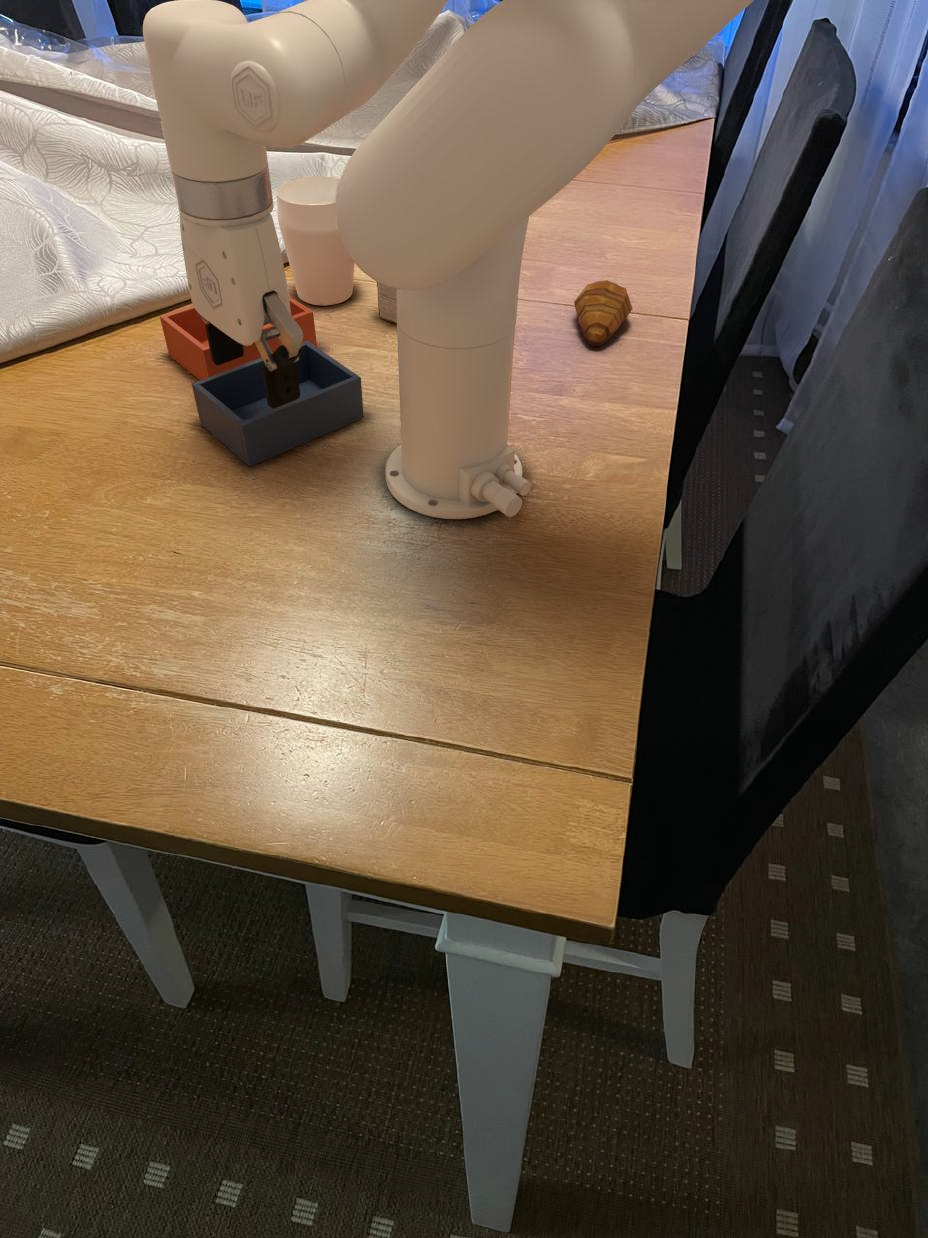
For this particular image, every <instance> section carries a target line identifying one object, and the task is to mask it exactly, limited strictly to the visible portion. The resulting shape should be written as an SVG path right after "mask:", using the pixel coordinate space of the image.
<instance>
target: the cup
mask: <svg viewBox="0 0 928 1238" xmlns="http://www.w3.org/2000/svg"><path fill="white" fill-rule="evenodd" d="M339 181H340V178H338V177H333V176H323V175H310V176H309V175H308V176H301V177H297V178H293V179H289V180H287V181H284V182H282V183H281V184H279V185H278V186H277V188H276V190H275V194H276V197H275V198H276V210H277V211H276V212H277V222H278V226H279V230H280V235H281V237H282V241H283V245H284V249H285V253H286V256H287V260H288V264H289V268H290V272H291V275H292V279H293V282H294V286H295V290H296V293H297V296H298V298H299V299H300V300H301V301H303V302H305V303H307V304H310V305H314V306H334V305H338V304H341V303H343V302H345V301H347V300H349V299H350V297H351V296H353V292H354V291H353V290H354V277H355V265H356V264H355V263H354V261H353V260H352V259H351V257H350V256H349V254H348V252H347V251H346V248H345V246H344V244H343V242H342V239H341V236H340V233H339V229H338V224H337V216H336V197H337V190H338V186H339Z"/></svg>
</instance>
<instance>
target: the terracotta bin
mask: <svg viewBox="0 0 928 1238" xmlns="http://www.w3.org/2000/svg"><path fill="white" fill-rule="evenodd" d="M289 301H290V310H291V316H292V317H293V318H294V320H295V321H296V322H297V324H298V325H299V327H300V328H301V330H302V332H303V340H302V343H303V342H305V341H309V342H310V343H311V344H313V345H314V346H316V347H317V348H318V343H317V334H316V326H315V325H316V323H315V315H314V311H313V310H311V309H310V308H309V307H307V306H305V305H304V304H303V303H301V302H299V301H298V300H297V299H294V298H293V297H292V296H290V295H289ZM159 320H160V324H161V328H162V332H163V336H164V340H165V345H166V348H167V354H168V356H169V357H170V358H172V359H173V360H174V361H175V362H177V363H178V364H179V365H181V367H183V368H184V369H185V370H186V371H188V372H189V373H190V374H191V375H193V376H194V377H195V378H197V380H198V381H200V380H203V379H206V378H208V377H211V376H214V375H217V374H219V373H222V372H225V371H227V370H230V369H233V368H235V367H238V366H241V365H243V364H246V363H249V362H251V361H254V360H257V359H260V358H262V356H261V354H260V352H259V350H258V348H257V346H256V344H255V342H254V343H253V344H252V345H250V346H245V345H243V350H244V355H243V356H242V357H240V358H237V359H234V360H232V361H229V362H226V363H223V364H221V365H216V364H215V363H213V362H212V358H211V353H210V348H209V346H206V347H205V346H204V345H203V343H204V342H205V341H207V340H208V338H207V333H206V328H205V325H207V324H209V323H205V322H204V321H203V319H202V317H201V315H200V314H199V313H198V312H197V311H196V309H195V308H194V306H193V305H191V306H188V307H184V308H181V309H178V310H175V311H172V312H169V313H165V314H162V315H160V316H159ZM273 328H275V327H274V326H272V325H271V324H268V325H265V326H263V330H262V332H264V331H267V330H270V329H273ZM267 343H268V345H269V348H270V350H271V352H272V354H273V353H274V352H275V350H276V349H277V348H278V347H279V346H281V343H280V341H279V339H278V337H275V338H272V339H270V340H267Z"/></svg>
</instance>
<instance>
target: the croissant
mask: <svg viewBox="0 0 928 1238" xmlns="http://www.w3.org/2000/svg"><path fill="white" fill-rule="evenodd" d="M573 304H574V309H575V312H576V314H577V316H578V319H577V321H578V322H577V323H578V324H579V327H580V329H581V332H582V334H583V337H584V339H585V341H586V342H587V343H588V345H590V346H593V347H598V346H599V347H601V346H602V345H603V344H605V343H607V342H608V341H609V339H611V337H613V335H614V334H615V333H616V332H617V331H618V330H619V328H620V327H621V325H622V323H623V322H624V321H625V320H626V319H627V318H628V317H629V315H630V314H631V312H632V310H633V306H632V302H631V300H630V297H629V294H628V290H627V288H626V287H624V286H621V285H619V284H617V283H616V282H613V281H610V280H608V279H606V280H597V281H595V282H592V283H587V284H586V286H585V287H584V288H583V290H582V291H581V292H580V294H579V295H578V296H577V297H576V299H575V300H573Z"/></svg>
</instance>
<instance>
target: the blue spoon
mask: <svg viewBox="0 0 928 1238" xmlns="http://www.w3.org/2000/svg"><path fill="white" fill-rule="evenodd" d="M299 388H300V397H299V398H298V399H300V398H302V397H305V396H307V395H310V394H312V393H315V392H317V391H319V390H317V389H315V388H312V387H299ZM294 401H295V400H294ZM289 403H290V402H289ZM287 404H288V403H287ZM282 406H283V405H282ZM277 408H278V407H277ZM270 410H273V409H272V408H271V407H269V406H268V404H267V405H264V406H262V407H259V408H257V409H254V410H251V411H249V412H246V413H244V414H241V415H238V416H239V417H240V418H241V419H242V420H244V421H246V420H248V419H251V418H253V417H256V416H258V415H261V414H263V413H265V412H268V411H270Z"/></svg>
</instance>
